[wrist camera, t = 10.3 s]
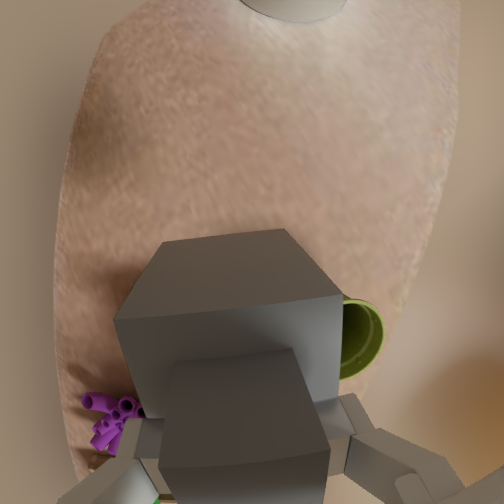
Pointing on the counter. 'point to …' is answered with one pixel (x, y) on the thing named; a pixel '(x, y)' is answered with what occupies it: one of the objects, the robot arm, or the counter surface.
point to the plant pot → (360, 337)
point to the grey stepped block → (236, 366)
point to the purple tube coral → (111, 418)
